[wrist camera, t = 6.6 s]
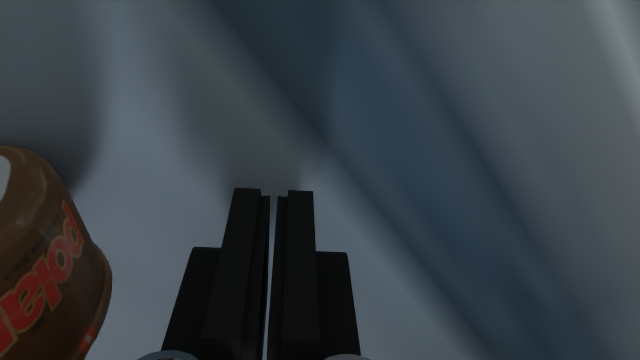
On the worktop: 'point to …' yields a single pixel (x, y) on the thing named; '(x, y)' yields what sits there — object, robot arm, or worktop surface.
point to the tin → (46, 265)
